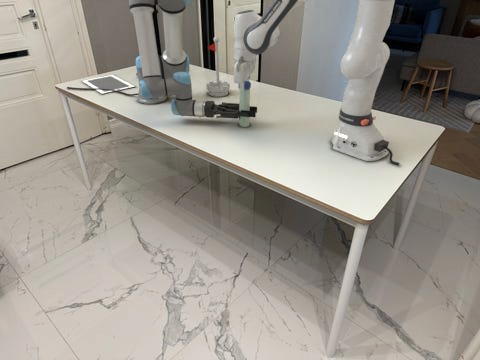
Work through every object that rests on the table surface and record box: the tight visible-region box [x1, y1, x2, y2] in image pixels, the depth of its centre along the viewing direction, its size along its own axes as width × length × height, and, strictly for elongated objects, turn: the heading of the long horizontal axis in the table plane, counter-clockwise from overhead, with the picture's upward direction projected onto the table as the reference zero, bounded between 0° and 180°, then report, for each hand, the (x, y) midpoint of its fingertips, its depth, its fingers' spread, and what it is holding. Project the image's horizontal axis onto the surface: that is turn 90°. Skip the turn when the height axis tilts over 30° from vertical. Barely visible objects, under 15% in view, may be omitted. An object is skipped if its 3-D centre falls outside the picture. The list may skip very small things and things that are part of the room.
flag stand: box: [205, 36, 231, 98], centre depth 183 cm, size 13×13×30 cm
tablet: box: [81, 74, 136, 95], centre depth 206 cm, size 32×20×1 cm, turn 41°
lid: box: [237, 81, 252, 89], centre depth 145 cm, size 5×5×2 cm
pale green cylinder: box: [238, 87, 251, 128], centre depth 150 cm, size 5×5×19 cm
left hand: (256, 111), depth 151 cm, fingers closed on pale green cylinder, 5 cm apart
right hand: (244, 87), depth 146 cm, fingers closed on lid, 5 cm apart
